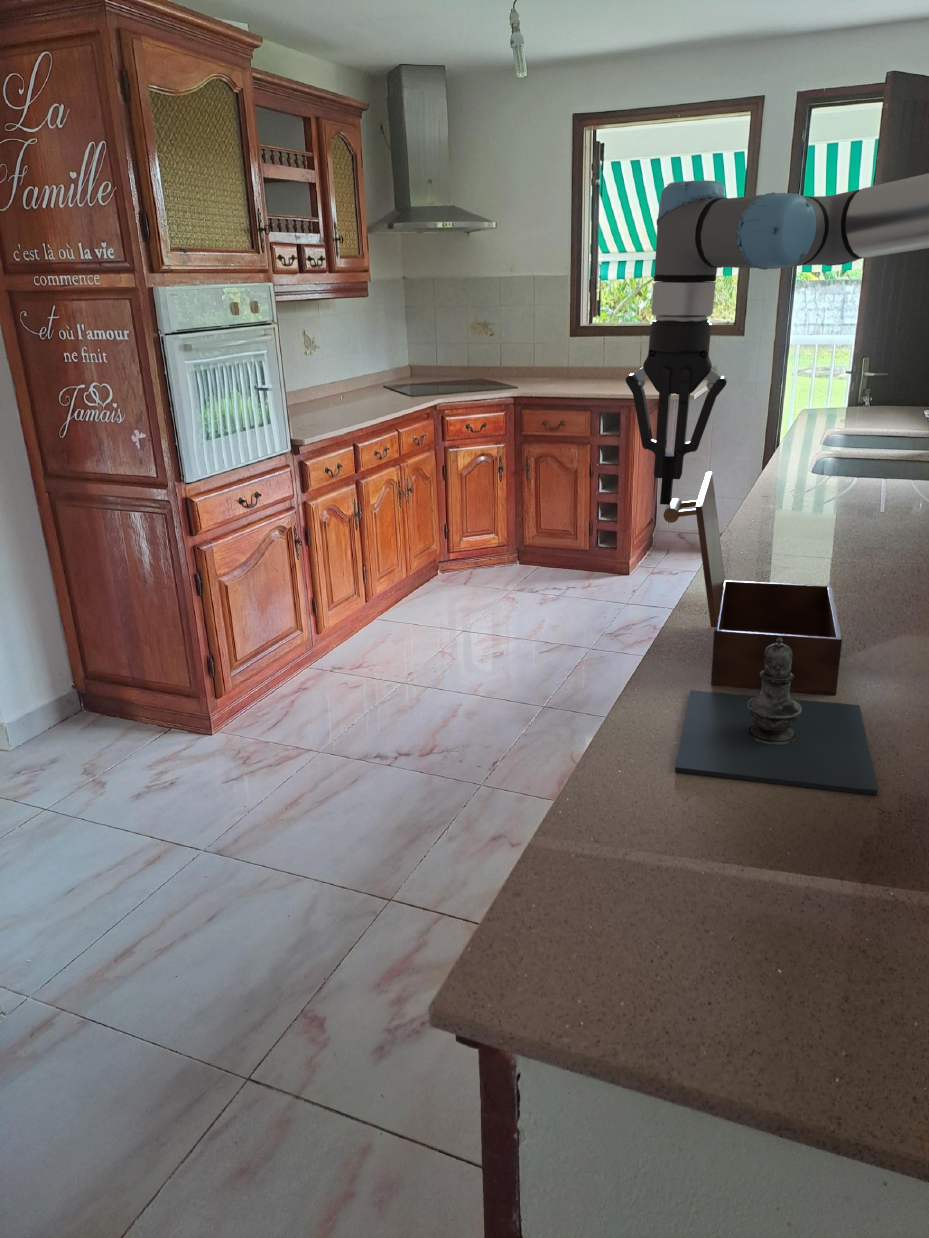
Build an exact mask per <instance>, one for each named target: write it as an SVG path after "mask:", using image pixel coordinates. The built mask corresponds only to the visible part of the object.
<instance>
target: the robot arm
mask: <svg viewBox="0 0 929 1238" xmlns="http://www.w3.org/2000/svg"><path fill="white" fill-rule="evenodd" d="M725 190H726V189H725V186H724V184H723V183H722V181H719V180H705V179H703V180H687V181H686V180H680V181H679V180H678V181H672V182H669V183H668V184H666V185H665V186H664V187H663V188H662V190H661V193H660V201H659V205H658V206H659V207H658V214H657V219H656V243H655V244H656V245H655V257H654V258H655V260H654V261H655V262H654V273H653V281H652V282H653V283H652V298H651V311H650V312H651V315H652V317H653V316H654V317H655V319H653V320H652V321H651V322H650V326H649V337H648V351H647V355H646V359H645V360H644V361H643V364H642V367H641V368H639V369H638V370H636V371H635V372H633V373H630V374H628V375H627V377H625V383H626V385H627V386H628V388H629V390H630V391H631V393H632V397H633V404H634V409H635V413H636V419H637V425H638V430H639V435H640V436H639V437H640V441H641V447H642V448H643V450H648V451H651V452H652V453H653V454H654V455H655V456H654V466H653V468H654V469H653V475H654V479H661V486H660V498H659V505H666V506H667V505H670V502H671V499H673V498H672V497H673V487H674V486H673V485H674V480H680V479H681V477H682V475H683V470H684V469H683V468H684V457H685V456H686V454H689V453H694V452H696V451H698V449H699V446H700V443H701V441H702V437H703V436H704V432H705V429H706V426H707V424H708V422H709V419H710V415H711V412H712V410H713V407H714V405H715V402H716V399H717V397H718V396H719V394H720V393H721V392H722V391H723V390H724V388H725V387H726V386H727V382H728V379H727V377H726V376H724V375H720V374H719V373H718V372H717V371H715V370H714V369H712V366H713V365H712V361H711V359H710V345H711V335H712V323H711V321H710V320H709V319H708V317H711V316H712V315H713V311H714V305H715V294H716V284H717V283H716V282H717V273H718V269H721V268H733V269H735V268H736V269H759V270H765V271H766V270H769V269H770V270H777V269H781V268H790V267H800V266H830V267H831V266H833V267H834V266H842V265H846V264H849V263H853V262H857V261H859V260H862V259H867V258H873V257H874V258H875V257H880V256H886V255H893V254H899V253H905V252H911V251H918V250H925V249H929V172H927V173H924V174H919V175H914V176H910V177H907V178H902V179H897V180H893V181H889V182H885V183H884V182H883V183H880V184H876V185H872V186H868V187H867V186H866V187H863V188H861V189H854V190H849V191H845V192H841V193H837V194H832V195H821V196H810V195H809V196H808V195H801V194H799V193H789V192H788V193H787V192H778V193H777V192H775V191H774V192H768V193H765V194H758V195H748V196H738V197H725ZM646 376H647V378H648V379H649V381H650V383H651V384H652V386H653V387H654V389H655V390H656V391H657V393H658V409H657V423H656V425H657V426H656V438H655V439H654V437H653V432H652V426H651V419H650V414H649V409H648V402H647V398H646V392H645V389H644V386H645V385H646V383H647V380H646ZM706 378H707V382H706V389H707V390H708V392H707V394H706V396H705V399H704V402H703V405H702V406H701V407H702V408H701V410H700V413H699V416H698V418H697V421H696V423H695V424H696V425H695V427H694V430H693V432H692V435H691V438H690V441H687V440H686V439H687V430H688V429H687V428H688V419H689V410H690V409H689V408H690V401H691V400H690V399H691V394H692V393H694V392H695V390H697V388H698V387H699V386H700V385H701V383H702V382H703V381H704V380H705V379H706ZM672 395H676V396H677V395H678V401H677V402H678V405H677V414H676V415H677V416H676V426H675V437H674V447H673V452H671V451H667V448H668V432H669V419H670V405H671V396H672Z"/></svg>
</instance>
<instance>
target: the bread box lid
mask: <svg viewBox="0 0 929 1238" xmlns="http://www.w3.org/2000/svg"><path fill="white" fill-rule="evenodd" d="M692 507H693V508H692ZM685 508H686V509H685ZM687 508H688V509H687ZM662 516H663V519H664V521H665V522H666V523H669V524H673V523H675V522H677V521H678V520H679V517H680V518H682V517H687V516H688V517H690V516H696V523H697V524H696V525H697V531H698V540H699V546H700V547H699V548H700V555H701V563H702V570H703V577H704V587H705V593H706V601H707V608H708V615H709V623H710V628H712V629H714V628H715V627H717V626H718V619H719V612H720V606H721V599H722V592H723V586H724V580H725V579H726V576H725V575H726V574H725V567H724V558H723V550H722V549H723V548H722V541H721V534H720V527H719V516H718V509H717V502H716V492H715V485H714V477H713V471H707V472H705V475H704V479H703V481H702V485H701V488H700V491H699V494H698V497H697V499H695V500H686V501H682V500H681V499H680V498H678V497H677V498H676V497H674V498H671V502H670V505H666V507H665V510H664V512H663V515H662Z"/></svg>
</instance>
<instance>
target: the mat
mask: <svg viewBox="0 0 929 1238" xmlns="http://www.w3.org/2000/svg"><path fill="white" fill-rule="evenodd" d="M756 696H757V695H749V694H740V693H739V694H737V693H727V692H716V691H704V690H693V689H690V691H689V694H688V699H687V705H686V710H685V715H684V721H683V724H682V730H681V736H680V741H679V745H678V746H679V747H678V752H677V756H676V762H675V768H674V771H675V773H681V774H690V775H697V776H698V775H699V776H707V777H714V778H715V777H716V778H723V779H732V780H741V781H749V782H758V783H759V782H760V783H765V784H774V785H775V784H776V785H784V786H794V787H802V788H811V789H819V790H827V791H835V792H844V793H853V794H861V795H871V796H877V795H878V786H877V782H876V778H875V773H874V768H873V762H872V758H871V753H870V749H869V744H868V739H867V735H866V730H865V725H864V720H863V715H862V710H861V705H860V704H851V703H841V702H832V701H831V702H829V701H819V700H818V701H817V700H807V699H806V700H805V699H796V698H795V699H794V698H791V699H792V700H794V701H796V702H797V703H799V704H800V706H801V707H802V711H801V713H800V714H799V715H798V718H797V720H796V722H795V723H794V725H793V726H791V727H790V728H791V729H792V730H794V731H795V733H796V739H795V741H793V742H792V743H789V744H785V745H769V744H764V743H761V742H758V741H756V740H754V739H752V738H751V737H750V736H749V734H748V729H749V727H750V726H752V725H754V724H756V723H755V722H754V721H753V720H752V718H751V715H750V710H749V709H748V707H747V702H748V701H749V700H750V699H751V698H753V697H756Z"/></svg>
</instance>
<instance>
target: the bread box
mask: <svg viewBox="0 0 929 1238" xmlns="http://www.w3.org/2000/svg"><path fill="white" fill-rule="evenodd" d="M837 611H838V610H837V607H836V602H835V596H834V592H833V586H832V585H824V584H804V583H785V582H767V581H766V582H765V581H747V580H746V581H745V580H725V579H724V586H723V592H722V599H721V606H720V612H719V619H718V626H717V627H714V628H713V640H712V659H711V660H712V661H711V674H710V675H711V677H710V685H711V686H720V687H731V688H732V687H734V688H747V689H756V690H758V689H759V690H761V689H762V678H761V676H760V672H761V671H763V670H764V660H765V650H766V648H767V647H768V646H769V645H771V644H775V643H777V641H776V640H777V639H778V638H779V637H781V638H782V640H783V641H782V643H783V644H785V645H787V646H788V647H790V649H791V650H792V664H791V673H792V674H793V675H794V679H793V680H792V681H791V684H790V693H791V692H793V693H802V694H814V695H815V694H816V695H828V696H837V690H838V680H839V671H840V663H841V653H842V644H843V637H842V632H841V628H840V622H839V617H838V612H837Z"/></svg>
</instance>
